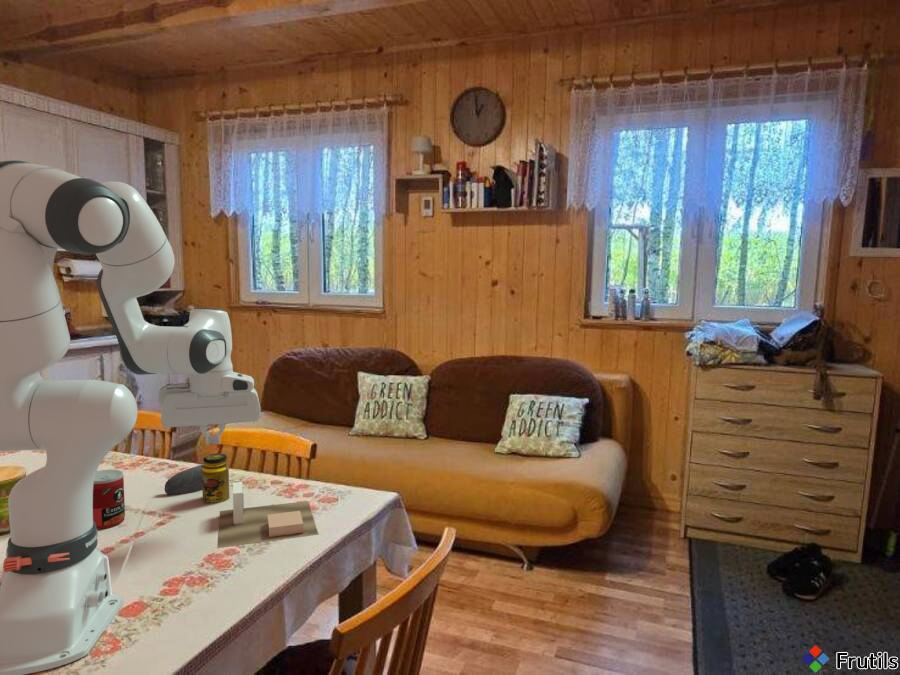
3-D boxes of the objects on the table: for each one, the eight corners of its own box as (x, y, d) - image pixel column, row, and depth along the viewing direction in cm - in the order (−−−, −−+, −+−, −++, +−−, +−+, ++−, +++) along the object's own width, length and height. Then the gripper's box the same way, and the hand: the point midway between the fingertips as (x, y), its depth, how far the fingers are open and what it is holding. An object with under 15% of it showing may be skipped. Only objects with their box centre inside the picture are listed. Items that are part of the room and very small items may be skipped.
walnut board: (318, 539, 123) (318, 534, 123) (217, 553, 116) (217, 547, 116) (308, 505, 141) (308, 500, 141) (220, 515, 134) (219, 511, 134)
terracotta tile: (269, 537, 121) (303, 533, 123) (269, 527, 121) (303, 523, 123) (267, 523, 128) (300, 519, 130) (267, 514, 127) (299, 510, 130)
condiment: (202, 511, 137) (200, 462, 135) (199, 498, 144) (197, 451, 143) (234, 506, 140) (233, 458, 139) (230, 493, 147) (229, 448, 146)
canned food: (107, 531, 125) (105, 482, 124) (76, 527, 126) (73, 479, 125) (133, 517, 132) (131, 470, 131) (103, 513, 134) (101, 467, 133)
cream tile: (243, 523, 128) (243, 492, 127) (233, 524, 127) (232, 493, 126) (243, 510, 134) (242, 481, 133) (233, 511, 133) (233, 482, 133)
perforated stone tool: (167, 503, 141) (166, 475, 140) (161, 497, 145) (160, 470, 144) (229, 489, 151) (228, 463, 150) (221, 483, 155) (221, 458, 154)
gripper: (156, 387, 119) (159, 451, 121) (260, 382, 126) (261, 443, 128) (160, 381, 125) (162, 443, 126) (259, 376, 132) (260, 435, 134)
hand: (213, 443), depth 127 cm, fingers closed
